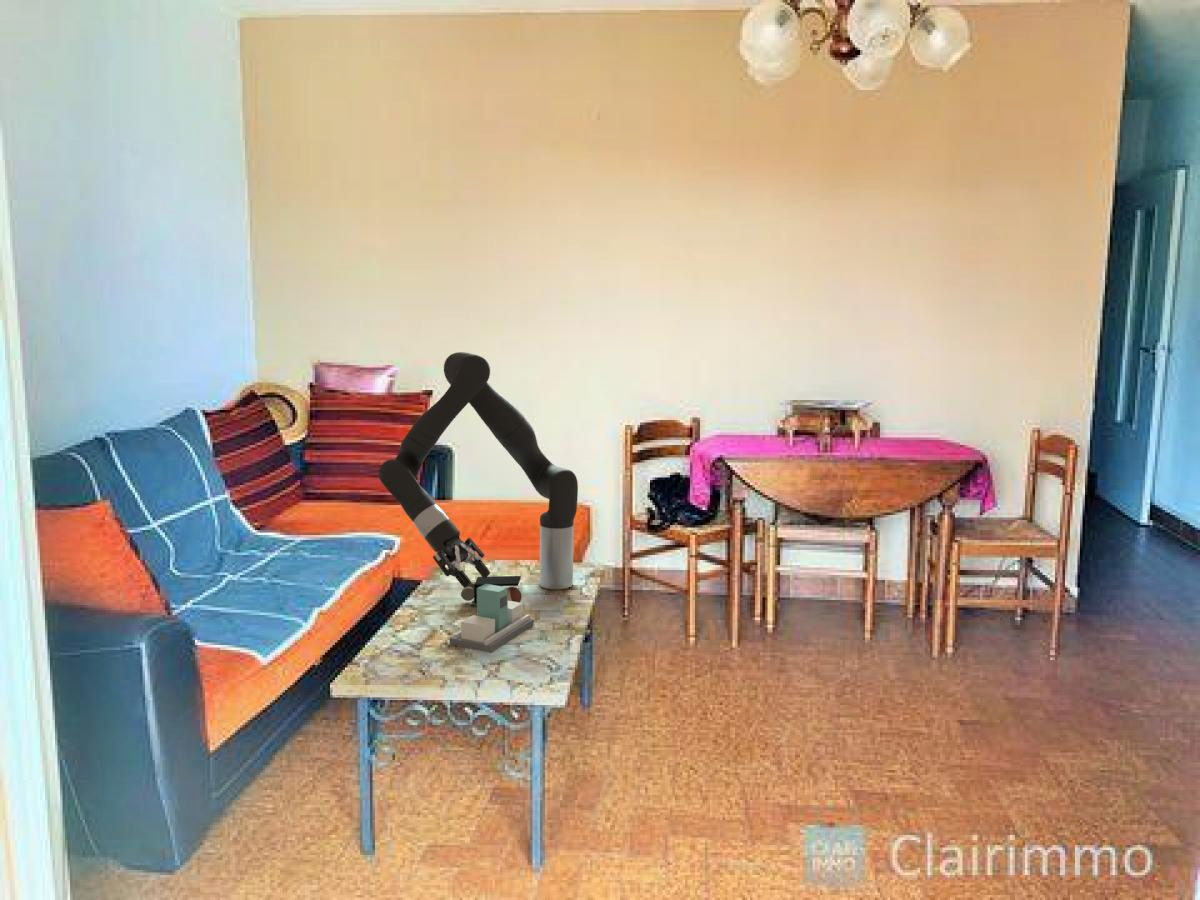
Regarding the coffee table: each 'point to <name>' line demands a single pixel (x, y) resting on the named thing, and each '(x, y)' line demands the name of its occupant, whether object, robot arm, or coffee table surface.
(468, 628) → the mounted blocks
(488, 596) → the block
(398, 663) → the coffee table surface
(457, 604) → the coffee table surface
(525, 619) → the rail board
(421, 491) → the robot arm
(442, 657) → the coffee table surface
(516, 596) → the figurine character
